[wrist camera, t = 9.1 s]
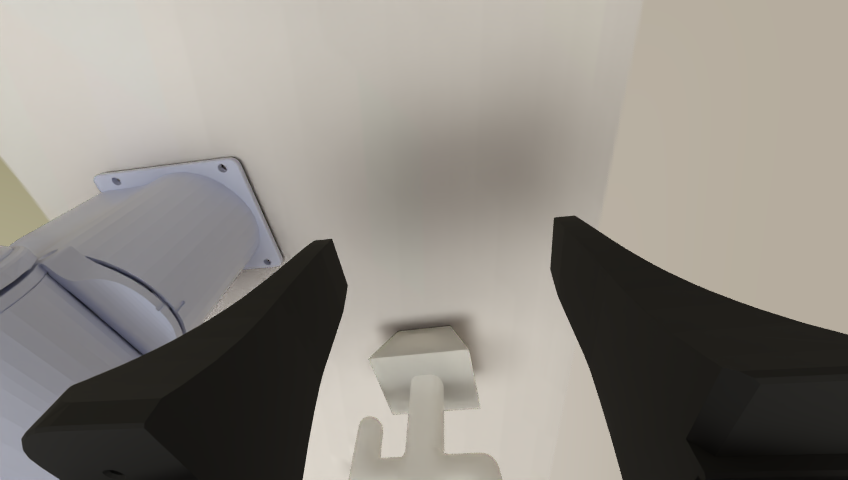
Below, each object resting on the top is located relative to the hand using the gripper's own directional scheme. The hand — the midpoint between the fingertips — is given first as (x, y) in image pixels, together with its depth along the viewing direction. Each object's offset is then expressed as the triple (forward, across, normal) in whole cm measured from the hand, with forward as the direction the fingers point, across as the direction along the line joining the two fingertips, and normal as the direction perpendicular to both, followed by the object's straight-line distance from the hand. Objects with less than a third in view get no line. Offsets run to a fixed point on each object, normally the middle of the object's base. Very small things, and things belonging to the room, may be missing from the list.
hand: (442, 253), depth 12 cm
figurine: (+11, +3, +17) cm, 20 cm away
